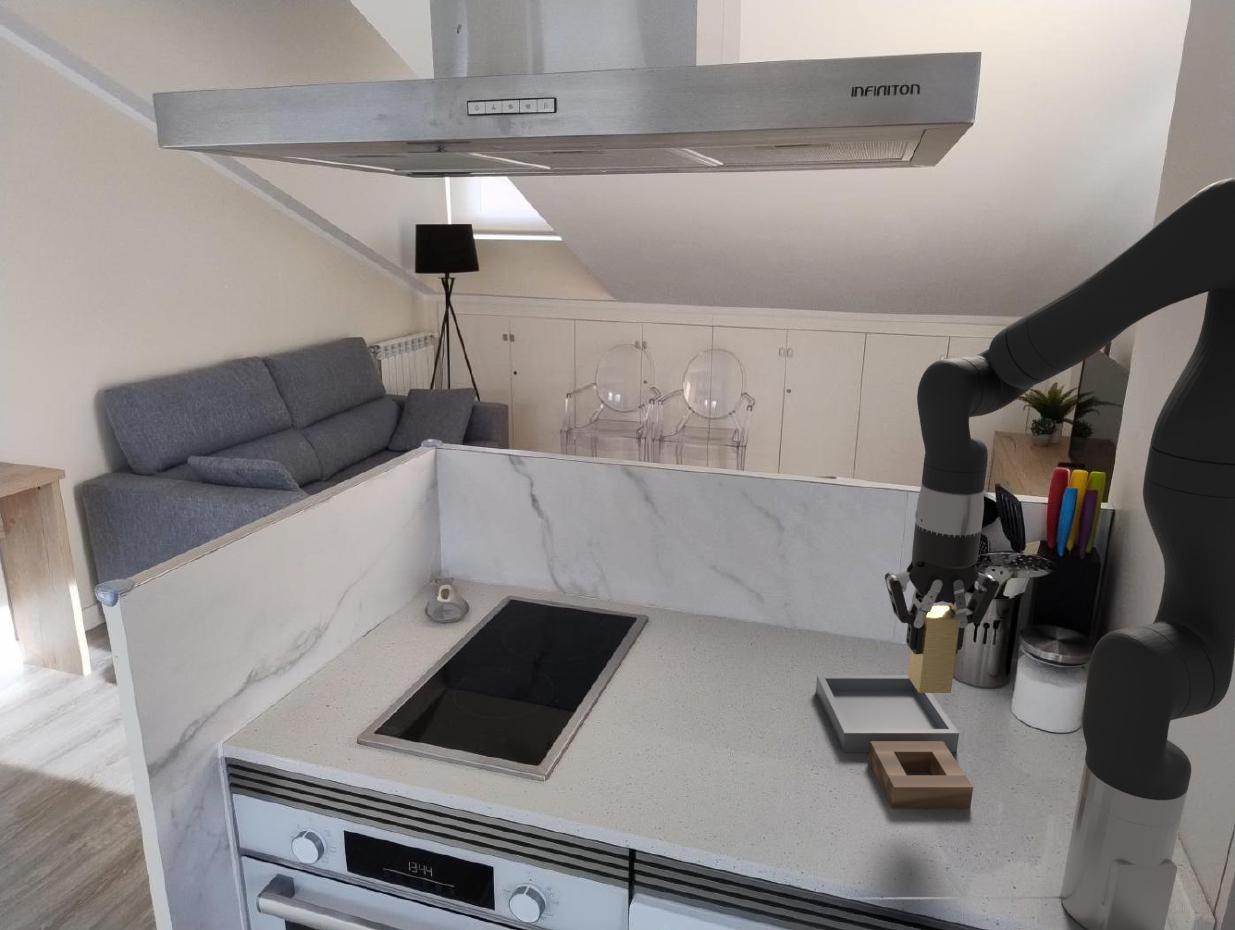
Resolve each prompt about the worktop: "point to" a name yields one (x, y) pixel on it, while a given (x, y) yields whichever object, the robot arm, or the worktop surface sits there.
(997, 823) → the worktop surface
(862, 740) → the parts tray
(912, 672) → the pin
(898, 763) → the socket block
